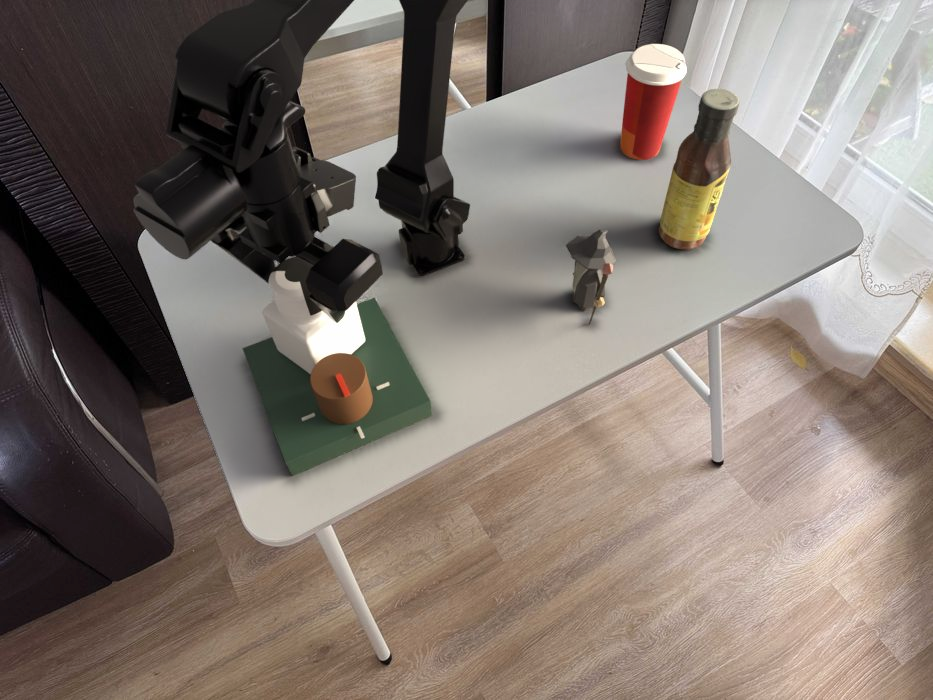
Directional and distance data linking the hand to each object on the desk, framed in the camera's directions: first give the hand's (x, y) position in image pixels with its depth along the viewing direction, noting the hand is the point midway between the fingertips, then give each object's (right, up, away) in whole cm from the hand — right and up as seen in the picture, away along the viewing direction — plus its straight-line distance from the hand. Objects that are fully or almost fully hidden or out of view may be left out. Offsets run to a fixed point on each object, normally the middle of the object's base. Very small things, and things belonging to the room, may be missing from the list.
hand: (305, 300), depth 73 cm
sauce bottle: (+44, +10, +19) cm, 49 cm away
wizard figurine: (+31, 0, +13) cm, 34 cm away
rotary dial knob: (+4, -11, +2) cm, 11 cm away
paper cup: (+41, +24, +30) cm, 56 cm away
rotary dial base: (+2, -9, +7) cm, 12 cm away
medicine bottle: (0, -5, +7) cm, 8 cm away
